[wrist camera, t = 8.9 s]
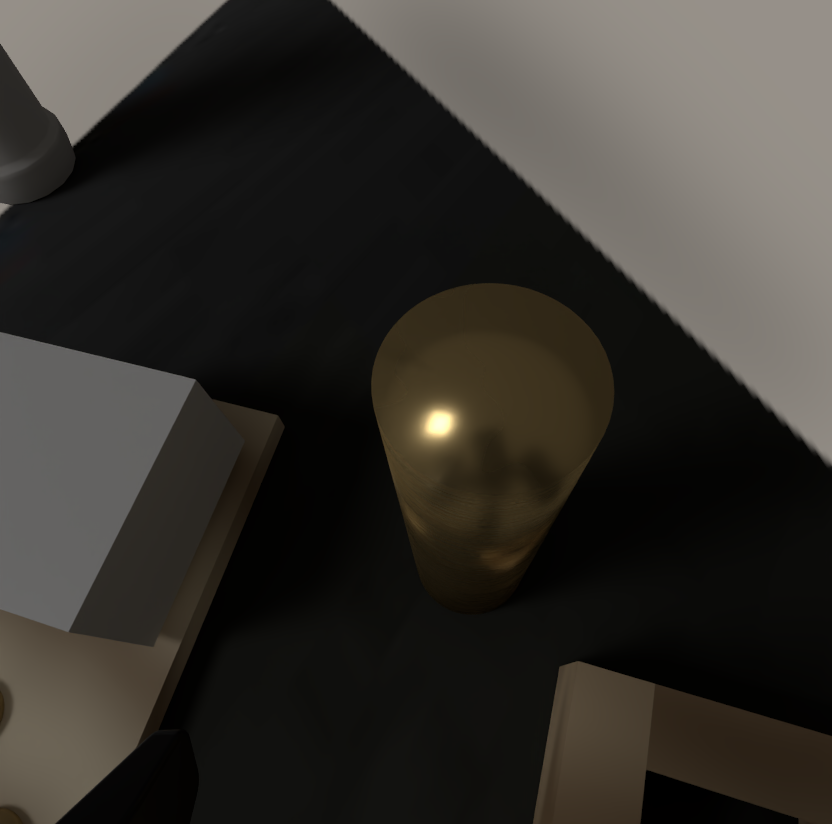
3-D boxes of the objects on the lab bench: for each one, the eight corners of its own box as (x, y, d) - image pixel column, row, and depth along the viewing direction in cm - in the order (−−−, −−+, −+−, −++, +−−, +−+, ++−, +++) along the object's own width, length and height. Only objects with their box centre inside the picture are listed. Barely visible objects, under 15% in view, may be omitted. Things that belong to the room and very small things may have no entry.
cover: (153, 647, 18) (68, 631, 14) (-39, 583, 19) (-168, 552, 15) (245, 440, 21) (196, 379, 17) (72, 396, 22) (-11, 329, 18)
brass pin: (510, 628, 19) (593, 524, 8) (403, 597, 20) (338, 459, 8) (532, 522, 20) (629, 306, 9) (432, 496, 21) (409, 265, 10)
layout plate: (29, 1039, 15) (-6, 1066, 14) (-212, 923, 17) (-262, 940, 15) (284, 426, 23) (275, 412, 21) (103, 381, 24) (85, 364, 23)
